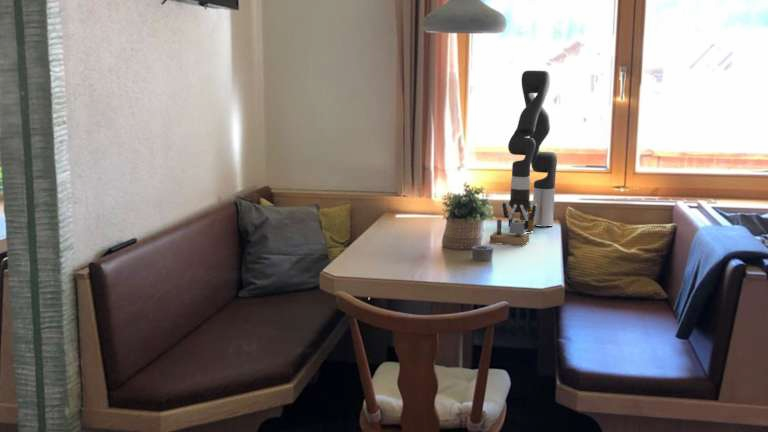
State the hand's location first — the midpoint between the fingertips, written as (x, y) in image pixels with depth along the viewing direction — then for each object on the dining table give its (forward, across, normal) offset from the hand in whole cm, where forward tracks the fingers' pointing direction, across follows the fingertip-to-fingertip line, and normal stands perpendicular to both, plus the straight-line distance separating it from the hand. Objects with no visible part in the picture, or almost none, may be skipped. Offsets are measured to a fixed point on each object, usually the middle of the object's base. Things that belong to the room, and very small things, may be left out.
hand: (518, 228), depth 322 cm
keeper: (+6, +4, 0) cm, 7 cm away
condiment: (+6, +2, -24) cm, 25 cm away
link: (+1, 0, 0) cm, 1 cm away
